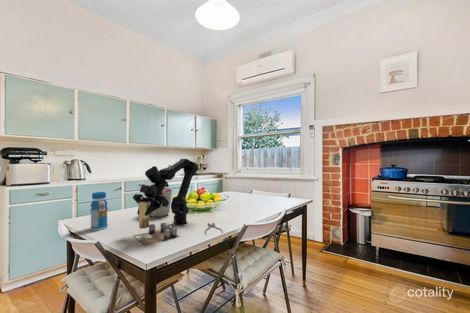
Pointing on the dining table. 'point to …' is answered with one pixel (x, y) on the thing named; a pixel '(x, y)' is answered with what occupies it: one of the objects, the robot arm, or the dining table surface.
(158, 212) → the canister
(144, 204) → the disc
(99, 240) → the dining table surface
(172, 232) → the spacer posts
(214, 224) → the pliers
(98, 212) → the beverage bottle
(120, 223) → the dining table surface
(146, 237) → the walnut board
